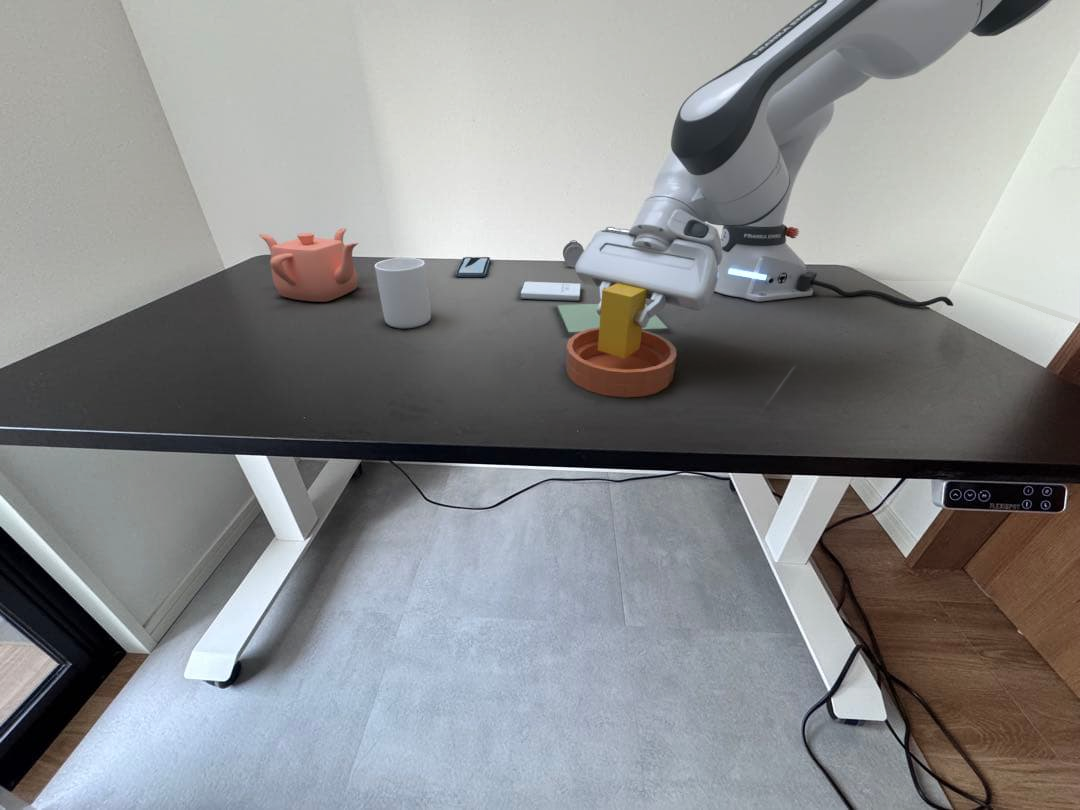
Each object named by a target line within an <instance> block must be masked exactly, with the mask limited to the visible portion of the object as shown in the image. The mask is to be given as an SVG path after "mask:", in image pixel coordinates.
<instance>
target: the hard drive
mask: <svg viewBox="0 0 1080 810" xmlns="http://www.w3.org/2000/svg"><path fill="white" fill-rule="evenodd" d="M580 298H581V283H572V282H570V283H569V282H549V281H548V282H545V281H524V284H523V286H522V289H521V291H520V299H521V300H541V301H542V300H544V301H567V302H579V301H580Z"/></svg>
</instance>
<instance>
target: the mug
mask: <svg viewBox="0 0 1080 810" xmlns="http://www.w3.org/2000/svg"><path fill="white" fill-rule="evenodd" d="M374 270H375V277H376V282H377V287H378V292H379V298H380V302H381V303H380V305H381V309H382V314H383V318H384V321H385V323H386V325H388V326H389V327H392V328H395V329H413V328H419V327H422V326H425V324H428V323H429V322H430V320H431V319H432V310H431V302H430V301H431V300H430V294H429V285H428V276H427V269H426V263H425V260H423V259H421V258H417V257H416V258H415V257H394V258H387V259H384V260H380V261H378V262H376V263H375V264H374Z"/></svg>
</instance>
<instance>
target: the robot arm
mask: <svg viewBox="0 0 1080 810" xmlns="http://www.w3.org/2000/svg"><path fill="white" fill-rule="evenodd" d="M1052 1H1053V0H816V1H815V2H814V3H812V4H811V5H809V7H807V8H806V9H804V10H803V11H802V12H800V14H798V15H797V16H796V17H794V18H793V19H792V20H790V21H789V22H788V23H786V24H785V25H784V26H783V27H782V28H780V29H779V30H778V31H776V33H774V34H773V35H771V36H770V37H769V38H768V39H767V40H765V41H763V43H761V45H759V46H758V47H757V48H755V49H754V50H752V51H751V52H750V53H748V55H746V56H745V57H743V58H742V59H741V60H740V61H739V62H737V63H736V64H734V65H733V66H732V67H730V68H728V69H727V70H725V71H724V72H722V73H721V74H719V75H717V76H715V77H714V78H712V79H711V80H708V81H707V82H705V83H704V84H703V85H701V86H700V87H698V88H697V89H696V90H695V91H693V92H692V93H691V94H690V95H689V96H687V98H686V99H685V100H684V101H683V103H682V104H681V106H680V108H679V110H678V112H677V114H676V117H675V120H674V122H673V123H674V124H673V127H672V131H671V137H670V138H671V139H670V146H671V147H670V148H671V150H670V152H669V153H668V155H667V157H666V158H665V160H664V162H663V163H662V166H661V167H660V168H659V171H658V173H657V175H656V178H655V180H654V182H653V189H652V191H651V193H650V194H649V195H648V196H647V197H646V199H645V200H644V201H643V203H642V205H641V207H640V209H639V211H638V213H637V214H636V217H635V219H634V221H633V223H632V224H631V227H630V229H628V228H617V227H614V226H606V228H603V229H601V230H597V231H596V232H595V233H594V234H593V236H592V238H591V240H590V241H589V242H588V244H587V245H586V247H585V249H584V252H583V253H582V255H581V256H580V258H579V260H578V261H577V263H576V266H575V268H574V269H575V272H576V275H577V277H578V278H579V281H581V282H582V283H583V284H584V285H588V286H593V287H597V288H599V298H600V299H599V303H598V304H599V305H598V307H597V313H598V315H600V313H601V301H602V290H603V289H606V288H608V287H610V286H612V285H614V284H617V283H620V284H625V285H629V286H634V287H638V288H642V289H646V290H647V296H646V300H647V299H648V300H651V303H649V304H647V307H646V308H645V309H644V310H639V309H638V310H637V312H636V315H635V316H634V318H633V323H634V324H635V325H636V326H640V327H643V328H645V327H646V325H647V323H648V321H649V319H650V318H651V317H653V316H654V315H656V316H657V314H658V313H660V312H662V311H663V310H664V308H665V306H666V304H668V305H671V306H672V305H673V306H677V307H682V308H685V309H688V310H689V309H690V310H694V311H698V312H699V311H701V310H704V309H705V308H706V307H708V305H710V303H711V300H712V298H713V296H714V293H715V292H716V293H718V294H722V295H724V296H725V295H726V296H730V297H736V298H741V299H746V300H750V301H754V302H767V301H776V300H777V301H778V300H783V299H784V300H785V299H794V298H803V297H810V296H813V294H814V289H813V287H814V286H816V287H821V288H824V289H828V290H831V291H833V292H835V293H836V294H838V295H839V296H843V297H857V296H863V295H868V296H876V297H880V298H883V299H885V300H889V301H891V302H893V303H896V304H899V305H902V306H907V307H913V308H921V307H927V306H930V305H933V304H936V303H939V302H943V303H944V304H946V306H949V307H953V306H954V303H953V301H952V300H951V299H950V298H949V297H947V296H938V297H935V298H931V299H929V300H928V299H927V300H925V301H913V300H912V301H910V300H907V299H902V298H900V297H896V296H894V295H891V294H888V293H886V292H882V291H878V290H873V289H859V290H855V291H845V290H843V289H841V288H839V287H838V286H836V285H833V284H830V283H827V282H825V281H824V282H823V281H820V280H816V278H817V276H818V272H814V271H809V270H808V271H807V267H806V263H805V262H804V260H802V258H801V257H800V256H799V255H798V254H797V253H796V252H795V251H794V250H793V249H792V248H791V247H790V246H789V244H788V243H786V242H787V238H790V239H796V238H797V237H798V236H799V235H800V230H799V229H798V228H797V227H794V226H789V227H787V225H785V224H784V220H785V216H786V212H787V209H788V206H789V203H790V202H789V201H790V199H791V194H792V191H793V188H794V185H795V183H796V180H797V178H798V176H799V173H800V171H801V169H802V167H803V165H804V163H805V161H806V159H807V157H808V155H809V154H810V152H811V150H812V147H813V146H814V144H815V143H816V141H817V139H818V138H819V137H820V136H821V135H822V134H823V133H824V132H825V131H826V129H827V128H828V127H829V125H830V123H831V121H832V119H833V116H834V112H835V101H836V100H838V99H840V98H842V97H844V96H846V95H848V94H850V93H853V92H855V91H856V90H858V89H860V88H861V87H862V86H863V85H864V84H866V83H867V82H869V80H871V79H872V78H876V79H880V80H901V79H904V78H909V77H911V76H914V75H917V74H919V73H920V72H922V71H924V70H926V69H927V68H929V67H930V66H932V65H933V64H935V63H936V62H937V61H939V60H940V59H941V58H942V57H943V56H945V55H947V53H949V51H951V50H952V49H953V48H954V47H955V46H956V45H957V44H959V42H960V41H961V40H963V39H964V38H965V37H966V36H967V35H968V34H969V33H972V34H974V35H976V36H978V37H996V36H999V35H1001V34H1003V33H1005V32H1006V31H1009V30H1011V29H1013V28H1015V27H1017V26H1020V25H1021V24H1023V23H1025V22H1026V21H1029V20H1030V19H1031V18H1033V17H1034V16H1036V15H1037V14H1039V13H1040V12H1041V11H1042V10H1043V9H1045V8H1046V7H1047V6H1048V5H1049V4H1050V3H1051V2H1052ZM713 225H714V226H713ZM715 226H722V230H721V235H720V233H719V231H718V229H717V228H716V227H715Z"/></svg>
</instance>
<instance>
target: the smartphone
mask: <svg viewBox="0 0 1080 810" xmlns="http://www.w3.org/2000/svg"><path fill="white" fill-rule="evenodd" d="M490 263H491V257H490V256H464V257H462V259H461V260H460V263H459V265H458V266H457V269H456V271H455V277H458V278H483V277H486V276H487V272H488V269H489V266H490Z"/></svg>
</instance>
